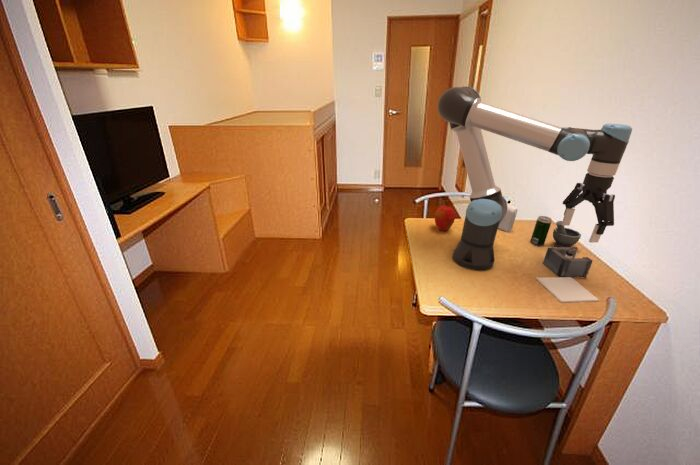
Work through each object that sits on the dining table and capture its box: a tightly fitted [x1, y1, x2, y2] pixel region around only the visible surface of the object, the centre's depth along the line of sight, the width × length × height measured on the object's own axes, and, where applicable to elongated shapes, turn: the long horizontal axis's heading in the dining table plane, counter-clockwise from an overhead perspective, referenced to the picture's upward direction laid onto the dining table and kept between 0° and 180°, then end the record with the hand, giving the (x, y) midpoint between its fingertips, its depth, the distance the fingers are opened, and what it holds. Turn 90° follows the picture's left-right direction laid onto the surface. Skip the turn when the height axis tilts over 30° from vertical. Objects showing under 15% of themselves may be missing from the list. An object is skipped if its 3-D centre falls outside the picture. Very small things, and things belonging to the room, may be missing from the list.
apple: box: [434, 205, 456, 232], centre depth 146 cm, size 9×9×12 cm
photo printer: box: [498, 203, 518, 233], centre depth 150 cm, size 10×4×12 cm, turn 35°
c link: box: [542, 246, 594, 279], centre depth 118 cm, size 10×10×7 cm
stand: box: [565, 249, 574, 258], centre depth 118 cm, size 4×4×9 cm
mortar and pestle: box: [552, 220, 582, 247], centre depth 134 cm, size 11×9×12 cm
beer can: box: [530, 215, 552, 247], centre depth 136 cm, size 5×5×12 cm
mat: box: [535, 276, 599, 303], centre depth 108 cm, size 13×13×1 cm
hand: (578, 233), depth 113 cm, fingers open, 13 cm apart
